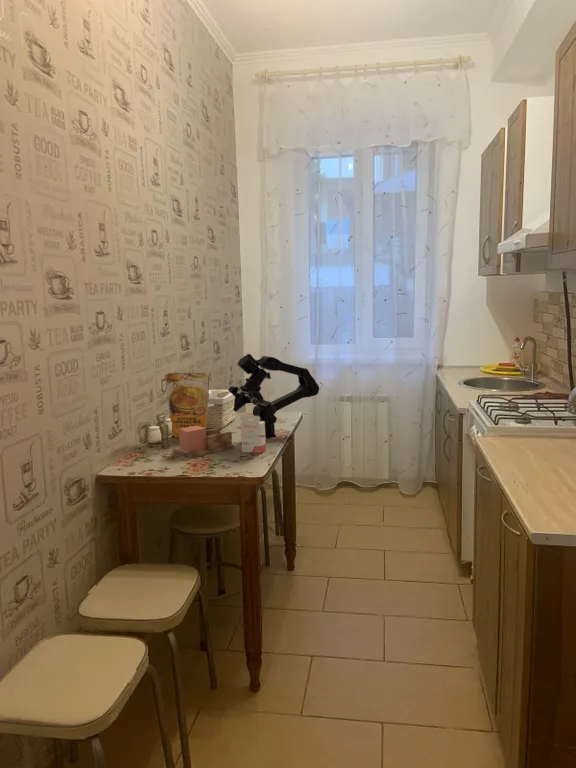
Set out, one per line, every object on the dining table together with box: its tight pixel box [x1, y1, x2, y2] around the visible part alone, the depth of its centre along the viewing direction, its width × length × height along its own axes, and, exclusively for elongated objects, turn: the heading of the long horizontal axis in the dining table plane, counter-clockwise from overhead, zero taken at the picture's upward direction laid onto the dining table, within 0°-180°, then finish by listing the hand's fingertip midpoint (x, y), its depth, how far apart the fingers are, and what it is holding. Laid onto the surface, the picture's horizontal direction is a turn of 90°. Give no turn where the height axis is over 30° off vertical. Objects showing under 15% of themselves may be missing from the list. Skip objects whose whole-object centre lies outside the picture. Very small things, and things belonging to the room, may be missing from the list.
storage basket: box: [206, 389, 237, 429], centre depth 281 cm, size 24×16×15 cm
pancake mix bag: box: [164, 372, 210, 439], centre depth 257 cm, size 7×19×28 cm, turn 81°
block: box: [178, 425, 207, 452], centre depth 234 cm, size 8×7×8 cm
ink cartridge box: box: [240, 414, 267, 454], centre depth 232 cm, size 9×5×15 cm, turn 70°
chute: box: [172, 428, 235, 459], centre depth 237 cm, size 20×14×6 cm
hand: (234, 410), depth 244 cm, fingers closed
